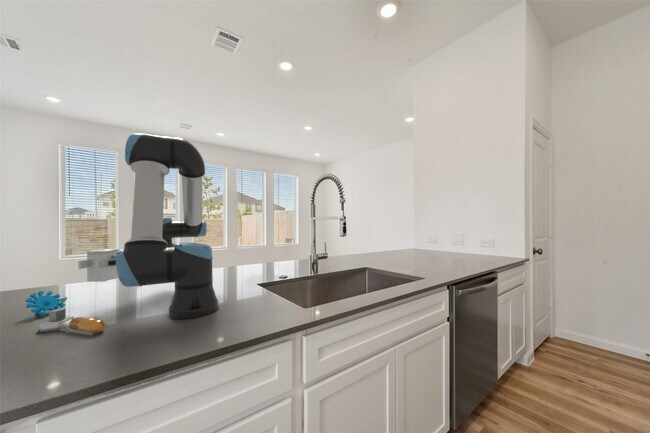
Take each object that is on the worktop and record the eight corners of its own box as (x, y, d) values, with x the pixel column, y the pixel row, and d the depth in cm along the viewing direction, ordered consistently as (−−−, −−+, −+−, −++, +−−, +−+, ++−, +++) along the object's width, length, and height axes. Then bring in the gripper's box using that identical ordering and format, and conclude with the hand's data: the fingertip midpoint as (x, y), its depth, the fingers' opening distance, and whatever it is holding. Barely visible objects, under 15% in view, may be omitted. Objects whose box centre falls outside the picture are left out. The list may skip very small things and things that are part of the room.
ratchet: (115, 328, 74) (115, 311, 74) (87, 339, 67) (87, 320, 67) (64, 321, 80) (64, 305, 80) (33, 330, 73) (33, 313, 73)
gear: (35, 315, 81) (22, 291, 83) (22, 328, 81) (10, 304, 83) (75, 308, 92) (63, 287, 94) (64, 319, 92) (52, 298, 94)
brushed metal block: (119, 277, 92) (119, 249, 92) (103, 281, 86) (103, 251, 86) (104, 277, 92) (104, 249, 92) (87, 281, 86) (87, 251, 86)
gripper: (166, 264, 106) (114, 276, 83) (124, 263, 108) (63, 276, 85) (166, 245, 106) (114, 253, 83) (124, 246, 108) (62, 253, 85)
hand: (88, 264), depth 84 cm, fingers closed on brushed metal block, 6 cm apart
